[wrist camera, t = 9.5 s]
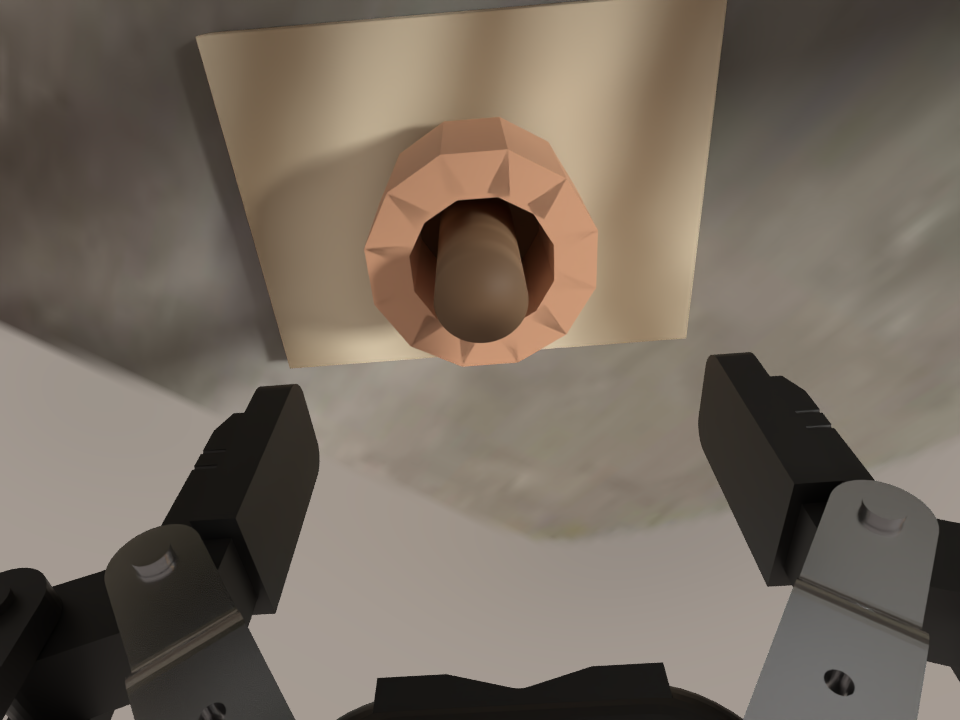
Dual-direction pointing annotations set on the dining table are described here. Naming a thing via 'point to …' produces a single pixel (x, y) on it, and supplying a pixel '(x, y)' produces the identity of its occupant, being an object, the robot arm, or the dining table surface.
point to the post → (480, 266)
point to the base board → (460, 96)
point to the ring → (473, 175)
